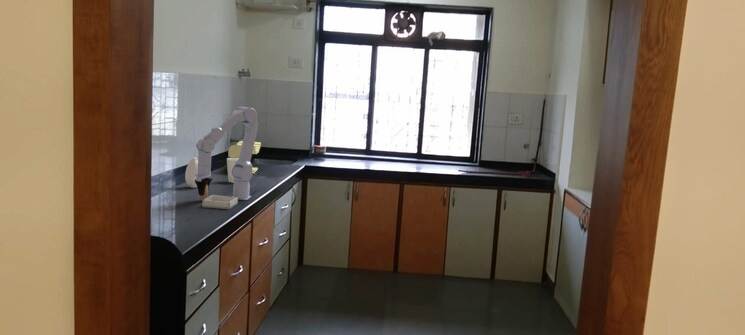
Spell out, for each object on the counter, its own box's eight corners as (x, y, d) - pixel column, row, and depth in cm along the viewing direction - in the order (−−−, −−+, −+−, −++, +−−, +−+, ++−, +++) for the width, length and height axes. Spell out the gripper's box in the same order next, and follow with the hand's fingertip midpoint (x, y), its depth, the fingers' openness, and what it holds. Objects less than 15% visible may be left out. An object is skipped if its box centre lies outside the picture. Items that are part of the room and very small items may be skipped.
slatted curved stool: (235, 167, 380) (236, 140, 378) (259, 168, 382) (260, 142, 380) (227, 173, 351) (228, 144, 348) (253, 175, 352) (255, 146, 350)
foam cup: (222, 181, 321) (223, 158, 319) (237, 180, 327) (238, 157, 325) (231, 183, 314) (232, 160, 312) (246, 183, 320) (247, 160, 319)
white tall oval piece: (196, 189, 288) (197, 154, 286) (181, 187, 290) (183, 152, 288) (203, 187, 296) (205, 153, 294) (189, 185, 297) (191, 151, 295)
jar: (199, 197, 264) (200, 183, 263) (208, 197, 264) (209, 183, 263) (197, 198, 260) (197, 184, 259) (205, 199, 260) (206, 185, 259)
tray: (211, 201, 263) (212, 194, 262) (237, 203, 263) (238, 197, 262) (202, 207, 249) (202, 200, 249) (229, 209, 249) (229, 202, 248)
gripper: (200, 162, 267) (199, 191, 269) (190, 166, 253) (188, 196, 254) (215, 163, 267) (214, 192, 269) (206, 167, 253) (204, 197, 254)
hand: (203, 194), depth 262 cm, fingers closed on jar, 4 cm apart
